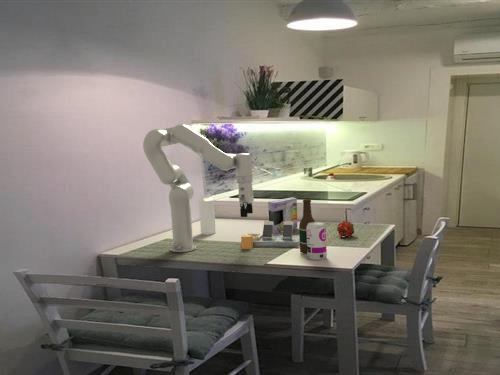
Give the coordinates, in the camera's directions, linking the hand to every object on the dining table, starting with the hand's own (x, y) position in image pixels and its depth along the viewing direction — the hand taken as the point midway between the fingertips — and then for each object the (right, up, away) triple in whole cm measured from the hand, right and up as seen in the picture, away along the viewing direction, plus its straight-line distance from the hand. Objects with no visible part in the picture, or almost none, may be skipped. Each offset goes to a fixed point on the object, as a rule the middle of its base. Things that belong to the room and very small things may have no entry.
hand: (246, 215), depth 223 cm
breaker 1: (+10, -12, +7) cm, 17 cm away
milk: (-22, -13, +40) cm, 47 cm away
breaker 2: (+20, -12, +5) cm, 23 cm away
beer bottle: (+28, -16, -11) cm, 34 cm away
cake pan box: (+20, -11, +38) cm, 44 cm away
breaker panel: (+12, -15, +9) cm, 21 cm away
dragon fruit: (+51, -12, +16) cm, 54 cm away
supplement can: (+30, -17, -21) cm, 41 cm away
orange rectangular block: (0, -16, +2) cm, 16 cm away
